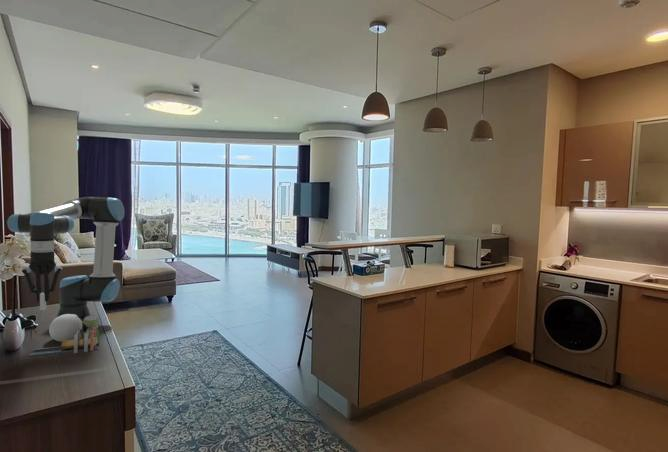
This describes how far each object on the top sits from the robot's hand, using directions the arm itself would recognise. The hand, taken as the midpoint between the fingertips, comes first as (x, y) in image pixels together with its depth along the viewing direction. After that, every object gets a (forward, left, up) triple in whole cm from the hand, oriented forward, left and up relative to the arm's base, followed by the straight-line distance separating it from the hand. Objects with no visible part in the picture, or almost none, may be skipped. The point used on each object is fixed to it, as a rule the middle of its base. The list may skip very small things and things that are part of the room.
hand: (43, 309), depth 150 cm
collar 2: (0, +15, -19) cm, 24 cm away
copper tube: (+1, +12, -18) cm, 21 cm away
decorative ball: (-15, +5, -19) cm, 24 cm away
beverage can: (-9, +15, -19) cm, 26 cm away
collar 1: (0, +12, -19) cm, 22 cm away
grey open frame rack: (0, +8, -19) cm, 20 cm away
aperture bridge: (0, +17, -19) cm, 26 cm away
